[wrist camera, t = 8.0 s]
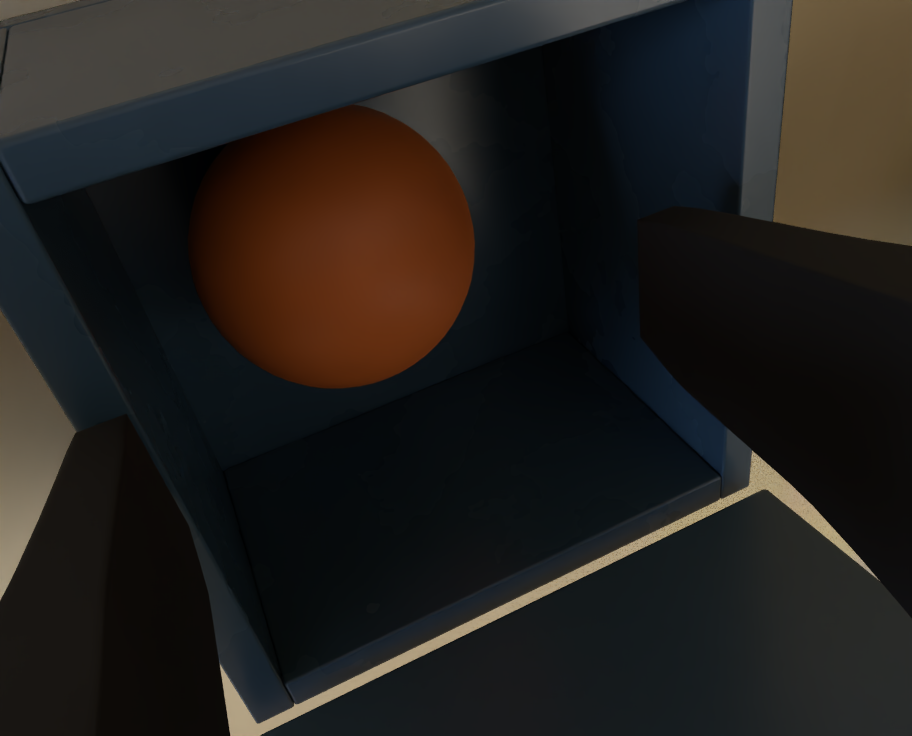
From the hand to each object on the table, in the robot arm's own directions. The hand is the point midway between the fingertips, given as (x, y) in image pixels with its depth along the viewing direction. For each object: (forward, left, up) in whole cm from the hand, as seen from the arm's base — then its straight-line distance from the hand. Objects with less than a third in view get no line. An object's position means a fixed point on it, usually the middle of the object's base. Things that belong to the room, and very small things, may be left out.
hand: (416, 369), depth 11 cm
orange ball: (0, 0, -4) cm, 4 cm away
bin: (+1, -1, -7) cm, 7 cm away
